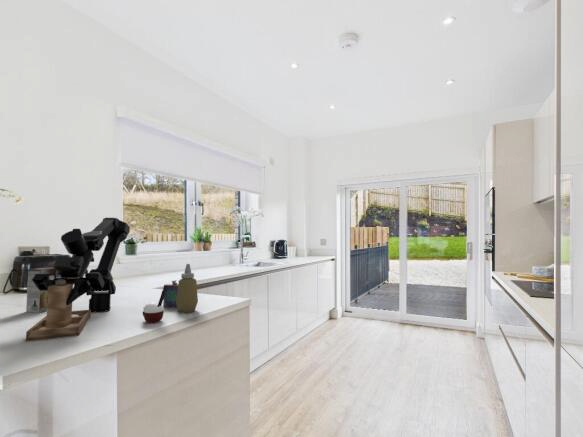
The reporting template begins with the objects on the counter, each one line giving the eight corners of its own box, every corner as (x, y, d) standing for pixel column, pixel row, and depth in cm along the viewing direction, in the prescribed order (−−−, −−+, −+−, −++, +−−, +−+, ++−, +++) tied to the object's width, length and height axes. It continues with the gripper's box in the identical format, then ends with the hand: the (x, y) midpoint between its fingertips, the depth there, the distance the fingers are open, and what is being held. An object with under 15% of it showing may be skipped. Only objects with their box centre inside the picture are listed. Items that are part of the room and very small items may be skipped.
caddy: (90, 316, 110) (91, 309, 111) (78, 335, 89) (79, 326, 90) (49, 320, 105) (49, 312, 105) (25, 341, 84) (26, 331, 84)
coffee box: (48, 306, 126) (50, 266, 127) (61, 307, 125) (63, 267, 126) (25, 312, 117) (27, 269, 118) (39, 312, 116) (41, 269, 117)
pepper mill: (71, 323, 96) (73, 277, 97) (64, 327, 91) (66, 279, 92) (54, 324, 95) (56, 278, 96) (46, 328, 90) (48, 280, 91)
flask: (161, 306, 127) (162, 280, 127) (166, 305, 129) (167, 279, 130) (180, 308, 124) (181, 281, 124) (185, 307, 126) (186, 280, 127)
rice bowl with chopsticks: (139, 322, 105) (138, 286, 106) (157, 318, 110) (156, 283, 110) (151, 326, 99) (150, 288, 99) (170, 322, 103) (169, 285, 104)
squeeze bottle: (177, 314, 114) (178, 265, 115) (174, 310, 121) (175, 263, 122) (199, 312, 117) (200, 264, 119) (195, 308, 125) (196, 262, 126)
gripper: (37, 247, 97) (8, 289, 85) (101, 247, 100) (82, 287, 88) (51, 270, 104) (27, 311, 93) (111, 269, 107) (94, 309, 96)
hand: (57, 304), depth 92 cm, fingers closed on pepper mill, 5 cm apart
